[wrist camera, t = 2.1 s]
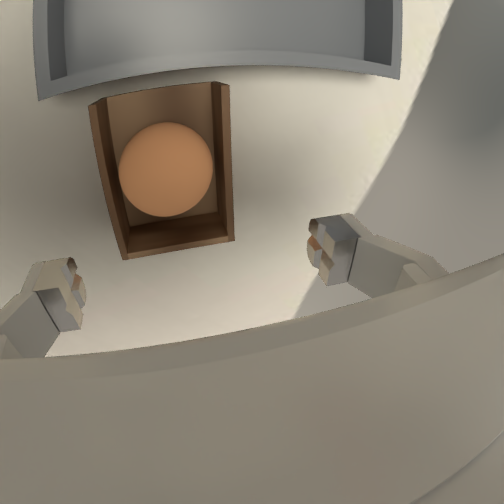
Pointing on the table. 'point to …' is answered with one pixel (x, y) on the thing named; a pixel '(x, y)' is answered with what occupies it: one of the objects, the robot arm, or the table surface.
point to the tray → (209, 37)
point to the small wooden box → (152, 112)
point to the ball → (165, 169)
